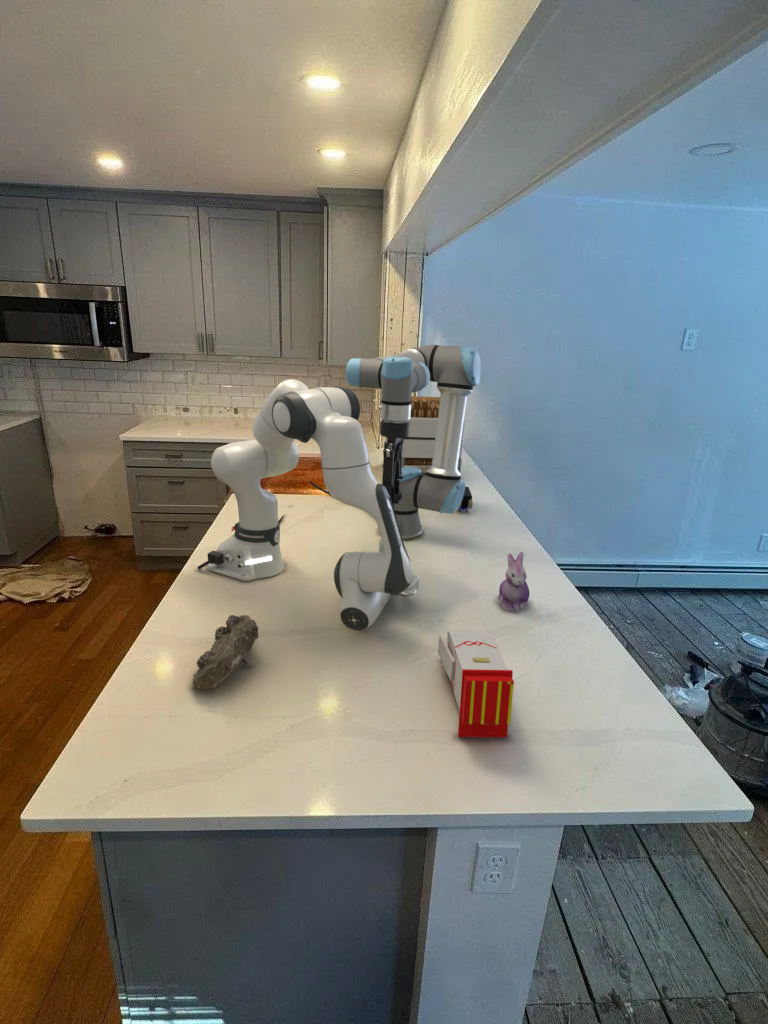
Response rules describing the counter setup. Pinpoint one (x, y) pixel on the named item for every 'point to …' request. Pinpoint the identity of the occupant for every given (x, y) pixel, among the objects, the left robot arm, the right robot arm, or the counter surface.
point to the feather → (281, 519)
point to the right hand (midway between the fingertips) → (390, 506)
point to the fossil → (226, 651)
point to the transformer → (422, 433)
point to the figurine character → (466, 500)
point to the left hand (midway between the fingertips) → (388, 568)
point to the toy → (478, 682)
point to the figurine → (514, 585)
